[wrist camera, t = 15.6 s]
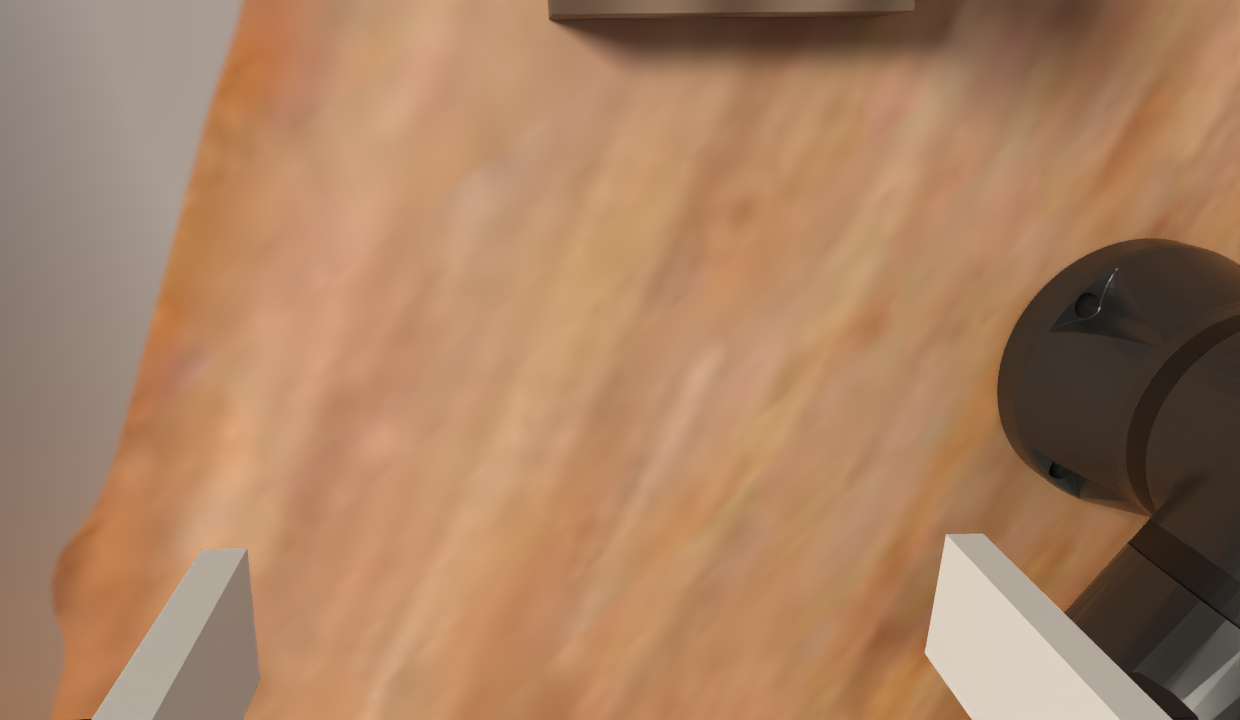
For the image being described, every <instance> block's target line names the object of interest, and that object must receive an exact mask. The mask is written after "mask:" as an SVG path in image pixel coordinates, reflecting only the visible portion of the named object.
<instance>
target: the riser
mask: <svg viewBox="0 0 1240 720" xmlns="http://www.w3.org/2000/svg"><path fill="white" fill-rule="evenodd" d="M914 5H915V0H548V8H549V20H552V19H649V18H745V17H842V16H882V15H889V14H895V13H902V12H908V11H914Z"/></svg>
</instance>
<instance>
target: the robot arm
mask: <svg viewBox="0 0 1240 720" xmlns="http://www.w3.org/2000/svg"><path fill="white" fill-rule="evenodd" d="M997 396H998V408H999V414H1000V418H1001V422H1002V426H1003V429H1004V431H1005V434H1006V436H1007V438H1008V440H1009V442H1010V444H1011V445H1012V447H1013V449H1014V450H1015V452H1016V453H1017V454H1018V455H1019V457H1020V458H1021V459H1022V460H1023V461H1024V462H1025V463H1026V464H1027V465H1028V466H1029V467H1030V468H1032V469H1033V470H1034V471H1035V472H1037V473H1038V474H1039V475H1041V476H1042V477H1043V478H1045V479H1046V480H1047V481H1049V482H1050V483H1051V484H1053V485H1054V486H1056V487H1057V488H1059V489H1060V490H1062V491H1064V492H1066V493H1068V494H1070V495H1072V496H1074V497H1077V498H1079V499H1082V500H1085V501H1088V502H1092V503H1096V504H1100V505H1104V506H1108V507H1112V508H1116V509H1120V510H1124V511H1128V512H1133V513H1137V514H1141V515H1145V516H1149V517H1151V518H1150V519H1149V520H1148V522H1147V523H1146V524H1145V525H1144V526H1143V527H1142V528H1141V529H1140V530H1139V532H1138V533H1137V534H1136V535H1135V536H1134V537H1133V538H1132V539H1131V540H1130V541H1129V542H1128V543H1127V544H1126V545H1125V546H1124V547H1123V548H1122V549H1121V550H1120V552H1119V553H1118V554H1117V555H1116V556H1115V557H1114V558H1113V559H1112V560H1111V562H1110V563H1109V564H1108V565H1107V566H1106V567H1105V568H1104V569H1103V570H1102V571H1101V573H1100V574H1099V575H1098V576H1097V577H1096V578H1095V579H1094V580H1093V581H1092V583H1091V584H1090V585H1089V586H1088V587H1087V588H1086V589H1085V590H1084V591H1083V592H1082V594H1081V595H1080V596H1079V597H1078V598H1077V599H1076V600H1075V601H1074V602H1073V604H1072V605H1071V606H1070V607H1069V608H1068V609H1067V610H1066V611H1065V612H1064V613H1063V612H1062V611H1061V610H1060V609H1059V608H1058V607H1057V606H1056V605H1055V604H1054V603H1053V602H1052V601H1051V600H1050V599H1049V598H1048V597H1047V596H1046V595H1045V594H1044V593H1043V592H1042V591H1041V590H1040V589H1039V588H1038V587H1037V586H1036V585H1035V584H1034V583H1033V582H1032V581H1031V580H1030V579H1029V578H1028V577H1027V576H1026V575H1025V574H1024V573H1023V572H1022V571H1021V570H1020V569H1019V568H1018V567H1016V566H1015V565H1014V564H1013V563H1012V562H1011V561H1010V560H1009V559H1008V558H1007V557H1006V556H1005V555H1004V554H1003V553H1002V552H1001V551H1000V550H999V549H998V548H997V547H996V546H995V545H994V544H993V543H992V542H991V541H990V540H989V539H988V538H987V537H986V536H985V535H984V534H946V538H945V544H944V550H943V555H942V561H941V566H940V572H939V577H938V583H937V588H936V594H935V599H934V605H933V611H932V616H931V622H930V627H929V633H928V638H927V644H926V649H925V654H926V656H927V657H928V658H929V660H930V661H931V663H932V664H933V665H934V667H935V668H936V670H937V671H938V672H939V674H940V675H941V677H942V678H943V679H944V681H945V682H946V684H947V685H948V687H949V688H950V689H951V691H952V692H953V694H954V695H955V696H956V698H957V699H958V701H959V702H960V703H961V705H962V706H963V708H964V709H965V710H966V712H967V713H968V715H969V716H970V718H971V719H972V720H1240V265H1239V264H1237V263H1235V262H1234V261H1232V260H1230V259H1229V258H1227V257H1225V256H1222V255H1220V254H1218V253H1216V252H1213V251H1210V250H1208V249H1204V248H1200V247H1196V246H1192V245H1188V244H1184V243H1181V242H1177V241H1172V240H1166V239H1136V240H1130V241H1125V242H1120V243H1116V244H1113V245H1110V246H1107V247H1104V248H1102V249H1099V250H1097V251H1095V252H1092V253H1090V254H1088V255H1086V256H1084V257H1083V258H1081V259H1079V260H1077V261H1076V262H1074V263H1073V264H1071V265H1070V266H1068V267H1067V268H1065V269H1064V270H1063V271H1061V272H1060V273H1059V274H1058V275H1057V276H1055V277H1054V278H1053V279H1052V280H1051V281H1050V282H1049V283H1048V284H1047V285H1045V286H1044V287H1043V289H1042V290H1041V291H1040V292H1039V293H1038V294H1037V295H1036V296H1035V297H1034V299H1033V300H1032V301H1031V302H1030V304H1029V305H1028V306H1027V308H1026V309H1025V311H1024V312H1023V314H1022V315H1021V317H1020V318H1019V320H1018V322H1017V324H1016V325H1015V327H1014V329H1013V331H1012V333H1011V335H1010V338H1009V340H1008V342H1007V345H1006V348H1005V351H1004V354H1003V357H1002V361H1001V365H1000V370H999V376H998V391H997ZM259 679H260V674H259V664H258V654H257V644H256V634H255V624H254V614H253V603H252V593H251V583H250V573H249V563H248V553H247V548H241V549H202V550H201V551H200V553H199V554H198V556H197V557H196V559H195V560H194V562H193V563H192V565H191V567H190V568H189V570H188V571H187V573H186V574H185V576H184V577H183V579H182V580H181V582H180V584H179V585H178V587H177V588H176V590H175V591H174V593H173V594H172V596H171V597H170V599H169V601H168V602H167V604H166V605H165V607H164V608H163V610H162V611H161V613H160V614H159V616H158V618H157V619H156V621H155V622H154V624H153V625H152V627H151V628H150V630H149V631H148V633H147V635H146V636H145V638H144V639H143V641H142V642H141V644H140V645H139V647H138V648H137V650H136V651H135V653H134V655H133V656H132V658H131V659H130V661H129V662H128V664H127V665H126V667H125V668H124V670H123V672H122V673H121V675H120V676H119V678H118V679H117V681H116V682H115V684H114V685H113V687H112V689H111V690H110V692H109V693H108V695H107V696H106V698H105V699H104V701H103V702H102V704H101V706H100V707H99V709H98V710H97V712H96V713H95V715H94V716H93V718H92V719H82V720H243V718H244V716H245V713H246V711H247V708H248V706H249V704H250V701H251V699H252V696H253V694H254V692H255V689H256V687H257V684H258V682H259Z"/></svg>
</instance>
